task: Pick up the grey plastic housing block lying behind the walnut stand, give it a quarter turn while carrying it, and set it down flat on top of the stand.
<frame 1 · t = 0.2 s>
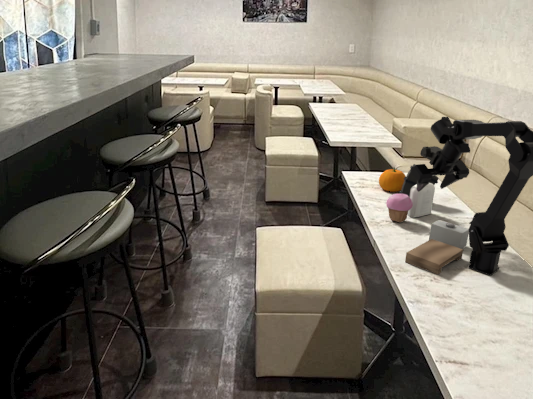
hand: (429, 189, 155), 14 cm above the table, tool tilted 30°, fingers open, 9 cm apart
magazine: (416, 202, 187), on the table
fruit: (391, 190, 201), on the table
walnut stand: (433, 260, 137), on the table
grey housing: (447, 243, 149), on the table
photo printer: (418, 215, 173), on the table
cupcake: (396, 221, 166), on the table
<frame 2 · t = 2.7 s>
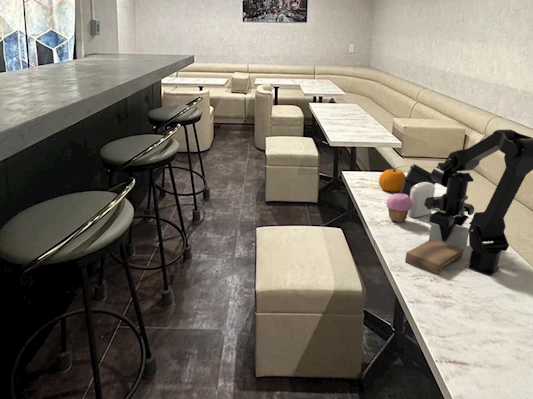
hand: (448, 238, 148), 2 cm above the table, tool pointing down, fingers closed on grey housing, 5 cm apart
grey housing: (447, 243, 149), on the table, touching gripper
everything else where it was.
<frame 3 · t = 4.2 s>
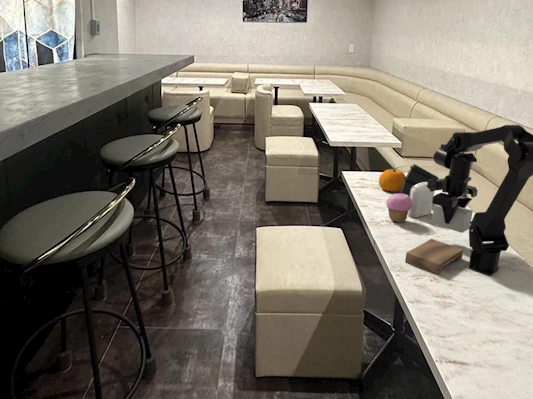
hand: (450, 221, 146), 7 cm above the table, tool pointing down, fingers closed on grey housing, 5 cm apart
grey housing: (450, 226, 147), point 6 cm above the table, touching gripper
everything else where it was.
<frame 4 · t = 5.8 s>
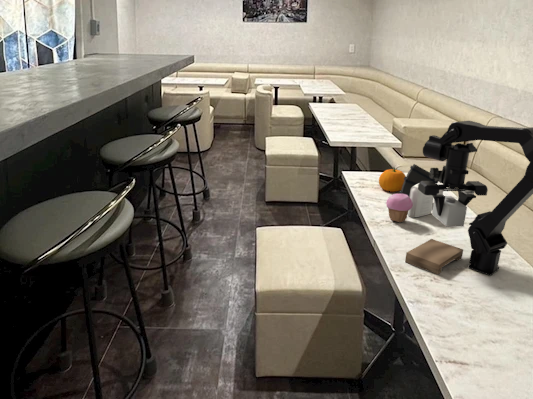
hand: (448, 215, 140), 11 cm above the table, tool pointing down, fingers closed on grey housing, 5 cm apart
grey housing: (447, 220, 140), point 10 cm above the table, touching gripper
everything else where it was.
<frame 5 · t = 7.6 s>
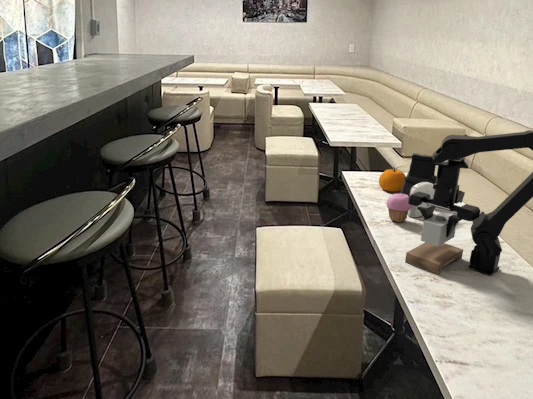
hand: (438, 233, 134), 8 cm above the table, tool pointing down, fingers closed on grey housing, 5 cm apart
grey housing: (437, 238, 134), point 7 cm above the table, touching gripper
everything else where it was.
when the fingers open (5 cm above the table, at t = 9.0 s): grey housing stays where it is, resting on walnut stand.
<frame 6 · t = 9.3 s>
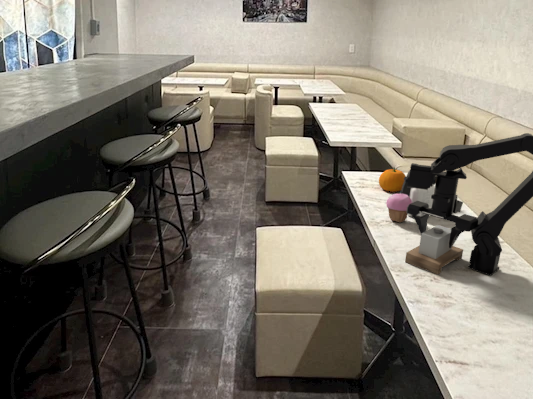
hand: (436, 243, 135), 5 cm above the table, tool pointing down, fingers open, 8 cm apart
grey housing: (435, 250, 136), point 3 cm above the table, touching walnut stand
everything else where it was.
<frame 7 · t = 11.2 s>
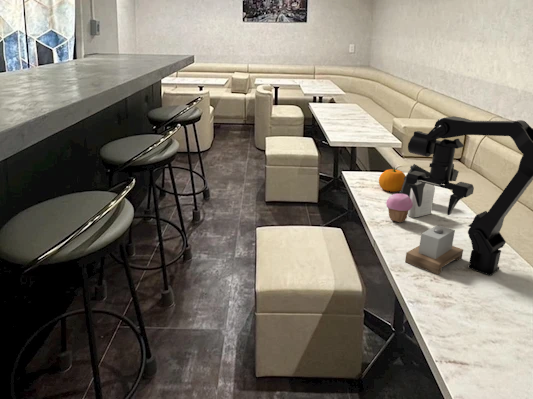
hand: (433, 210, 141), 12 cm above the table, tool pointing down, fingers open, 9 cm apart
nothing on the table moved.
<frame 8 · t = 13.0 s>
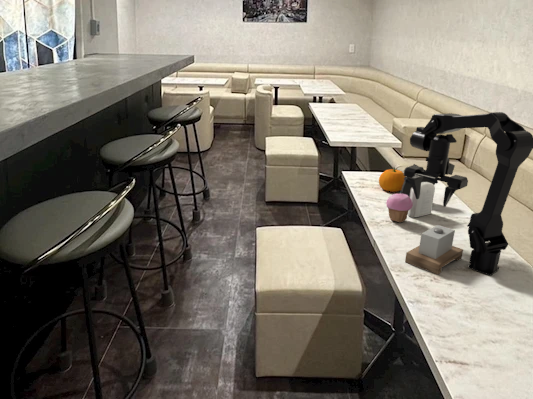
hand: (430, 202, 149), 12 cm above the table, tool pointing down, fingers open, 9 cm apart
nothing on the table moved.
at the end: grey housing 0.0 cm off-centre on the walnut stand, point 3.0 cm above the walnut stand's base; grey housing tilted 0°; the gripper is holding nothing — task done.
